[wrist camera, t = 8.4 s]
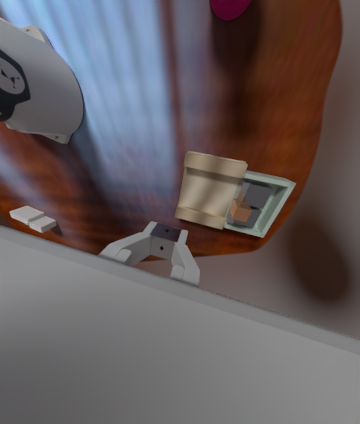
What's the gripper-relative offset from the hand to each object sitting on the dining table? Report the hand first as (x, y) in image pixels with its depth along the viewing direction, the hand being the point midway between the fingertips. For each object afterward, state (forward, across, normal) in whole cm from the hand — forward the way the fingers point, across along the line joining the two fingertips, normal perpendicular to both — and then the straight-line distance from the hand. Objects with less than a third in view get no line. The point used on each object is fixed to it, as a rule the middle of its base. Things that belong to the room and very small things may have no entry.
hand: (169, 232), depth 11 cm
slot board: (+22, -3, +3) cm, 22 cm away
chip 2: (+21, -12, +5) cm, 25 cm away
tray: (+22, -13, +3) cm, 25 cm away
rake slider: (+20, -10, +3) cm, 23 cm away
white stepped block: (+23, +51, +28) cm, 63 cm away
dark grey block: (+21, -12, +1) cm, 24 cm away
